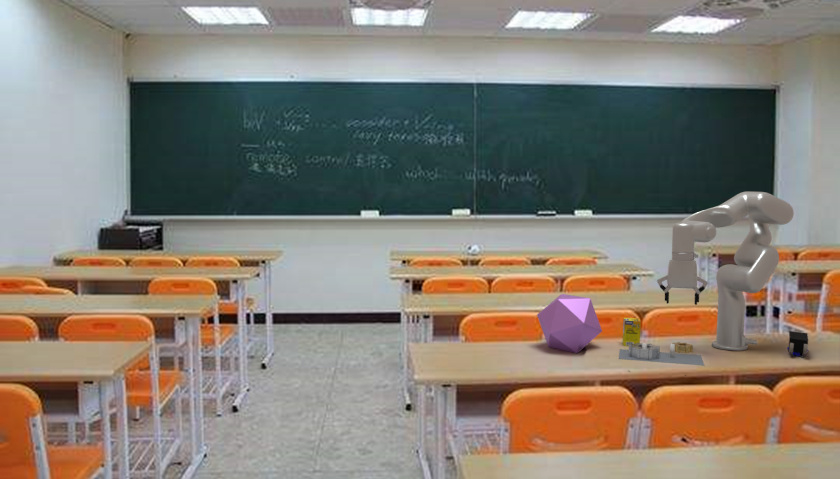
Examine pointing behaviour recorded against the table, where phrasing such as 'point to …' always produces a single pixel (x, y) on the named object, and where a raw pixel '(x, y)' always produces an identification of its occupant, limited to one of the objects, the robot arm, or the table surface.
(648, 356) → the steel gear
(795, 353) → the figurine character
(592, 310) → the icosahedron
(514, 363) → the table surface
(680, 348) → the bronze gear
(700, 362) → the gear board
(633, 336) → the supplement box
